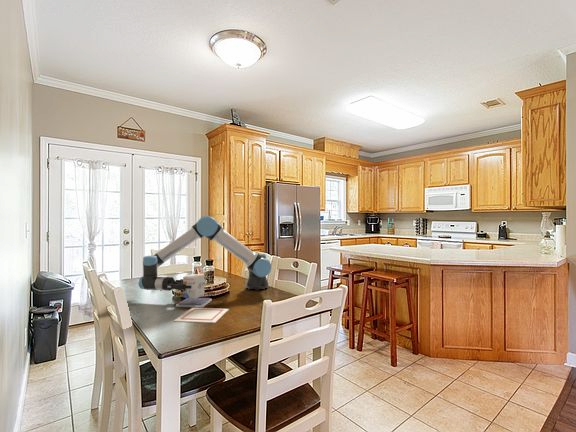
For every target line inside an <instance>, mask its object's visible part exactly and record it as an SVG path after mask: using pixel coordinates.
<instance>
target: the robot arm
mask: <svg viewBox="0 0 576 432" xmlns="http://www.w3.org/2000/svg"><path fill="white" fill-rule="evenodd" d="M204 237H205V238H206V239H208V240H209V241H210V242H216V243H217V244H218V245H219V246H221V247H223V248H224V249H226V251H227V252H230V254H232V255H233V256H234V257H236V258H237V259H238V260H240V261H241V262H242V263H244V264H245V267H246V269H248V278H247V281H246V285H245V287H246V289H247V288H248V289H247V290H249V289H255V290H254V291H260V290H259V289H264V290H266V289H265V288H267V289H269V288H268V287H270V286H269V281H268V279H267V277H268V275H269V274H270V273H271V271H272V263H271V262H270V260H269V259H267V255H266V254H265V253H259V252H254V251H252V249H249V248H248V247H247V246H246V245H245V244H243V243H242V242H241V241H239V240H238V239H237V238H236V237H234V236H232V234H230V233H228V231H227V230H225V229H224V226H223V225H222V224H221V223H220V222H219V221H217V220H216V218H214V217H212V216H210V215H205V216H202V217H200V218H199V219H198V220H197V222H196V223H194V224H193V225H192V226H191V228H190V229H189V230H188V231H185V232H184V233H183V234H181V235H180V236H179V237H177V238H176V239H174V240H173V241H172V242H171V243H169V244H167V245H166V246H165V247H164V248H161V250H159V251H158V252H156V253H155V254H153V255H146V256H143V259H142V271H143V272H142V273H143V275H142V276H141V277H140V278H139V279H138V287H139V288H140V289H141V290H146V291H150V290H151V291H154V290H155V291H160V292H162V291H167V292H168V291H172V290H176V291H177V290H179V291H185V290H186V289H195V290H197V289H198V284H186V285H185V284H183V278H182V279H181V278H180V279H174V277H172V276H158V268H159V267H161V266H162V265H163V264H164V263H166V262H168V261H169V260H170V259H171V258H173V257H174V256H176V255H177V254H178V253H180V252H181V251H183V250H184V249H186V248H187V247H188V246H189V245H192V244H193V243H194V242H195V241H197V240H198V239H202V238H204ZM205 286H207V281H206V280H204V287H205Z"/></svg>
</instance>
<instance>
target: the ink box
mask: <svg viewBox="0 0 576 432" xmlns="http://www.w3.org/2000/svg"><path fill="white" fill-rule="evenodd" d="M182 279H183V284H185V285H186V284H198V289H197V290H195V289H186V290H185V291H183V290H182V291H183V293H182V294H183V295H182V296H183V298H185V299H186V298H201V297H203V296H205V286H204V281H205V274H201V273H200V274H199V273H198V274H197V273H191V274H188V275H187V274H186V275H185V276H183V277H182Z"/></svg>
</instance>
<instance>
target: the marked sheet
mask: <svg viewBox="0 0 576 432" xmlns="http://www.w3.org/2000/svg"><path fill="white" fill-rule="evenodd" d="M228 311H230V308H218V307H217V308H213V307H211V308H210V307H202V308H200V307H190V309H188V310H187V311H185V312H184V313H182V314H181V315H180V316H178V317H177V318H176V319H174V320H173V322H181V323H207V324H215V323H217V322H218V321H219V320H220V319H221V318H222V317H223V316H224V315H225V314H226V313H227V312H228Z"/></svg>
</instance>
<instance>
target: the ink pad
mask: <svg viewBox="0 0 576 432" xmlns="http://www.w3.org/2000/svg"><path fill="white" fill-rule="evenodd" d="M212 301H213V299H212V298H210V297H198V298H185V299H183V300H182V301H179V302H178V303H176V304H175V308H205V306H206V305H208V304H209V303H210V302H212Z"/></svg>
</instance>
